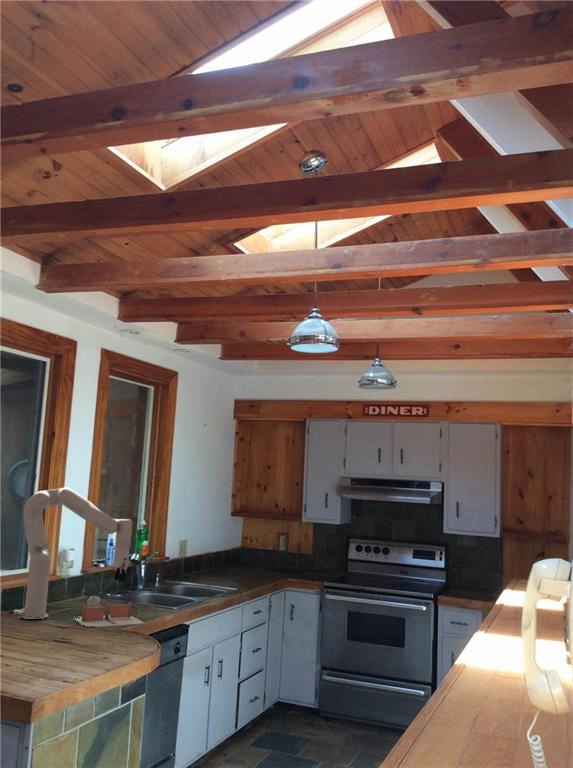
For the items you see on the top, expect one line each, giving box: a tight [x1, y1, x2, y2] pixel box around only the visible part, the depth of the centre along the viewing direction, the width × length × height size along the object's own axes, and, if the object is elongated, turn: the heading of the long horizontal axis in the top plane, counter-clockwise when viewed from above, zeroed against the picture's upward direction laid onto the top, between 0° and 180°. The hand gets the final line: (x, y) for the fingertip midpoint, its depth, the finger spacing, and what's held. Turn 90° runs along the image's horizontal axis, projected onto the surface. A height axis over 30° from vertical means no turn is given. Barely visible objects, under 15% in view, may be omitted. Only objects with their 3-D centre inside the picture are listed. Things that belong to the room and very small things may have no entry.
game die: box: [84, 594, 104, 608], centre depth 342 cm, size 9×8×10 cm
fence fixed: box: [81, 603, 111, 621], centre depth 319 cm, size 13×2×7 cm, turn 123°
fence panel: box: [109, 602, 133, 618], centre depth 325 cm, size 11×2×7 cm, turn 123°
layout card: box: [72, 614, 146, 628], centre depth 319 cm, size 28×24×1 cm
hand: (119, 580), depth 333 cm, fingers open, 5 cm apart
